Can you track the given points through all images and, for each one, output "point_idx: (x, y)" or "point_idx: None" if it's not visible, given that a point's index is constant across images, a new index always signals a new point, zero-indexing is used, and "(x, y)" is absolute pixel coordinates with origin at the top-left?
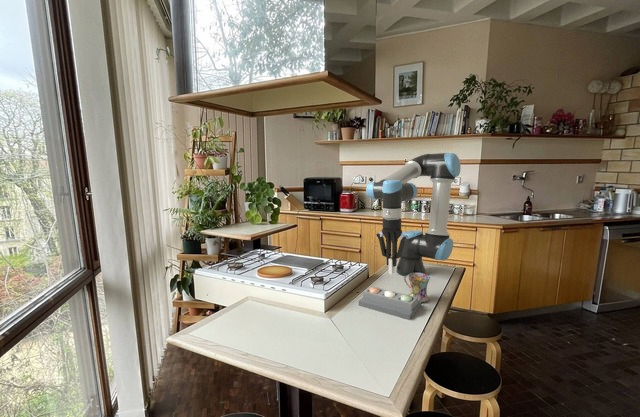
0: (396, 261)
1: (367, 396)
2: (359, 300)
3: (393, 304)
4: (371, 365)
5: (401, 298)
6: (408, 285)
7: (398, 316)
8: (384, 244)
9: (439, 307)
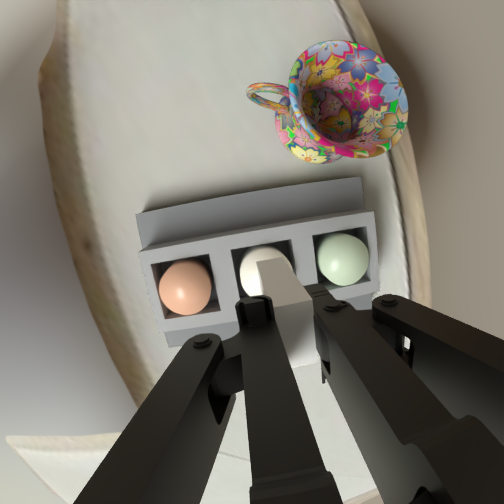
0: (333, 298)
1: (377, 491)
2: (168, 343)
3: None
4: (359, 470)
5: (333, 282)
6: (272, 104)
7: None
8: (181, 452)
9: (399, 143)
